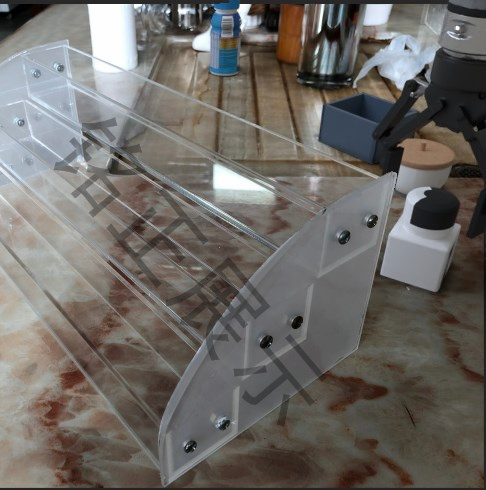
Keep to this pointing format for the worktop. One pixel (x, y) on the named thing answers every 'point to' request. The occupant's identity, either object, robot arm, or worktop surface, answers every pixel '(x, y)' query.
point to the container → (423, 239)
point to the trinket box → (423, 165)
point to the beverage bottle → (225, 39)
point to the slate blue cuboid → (357, 125)
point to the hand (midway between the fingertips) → (427, 212)
